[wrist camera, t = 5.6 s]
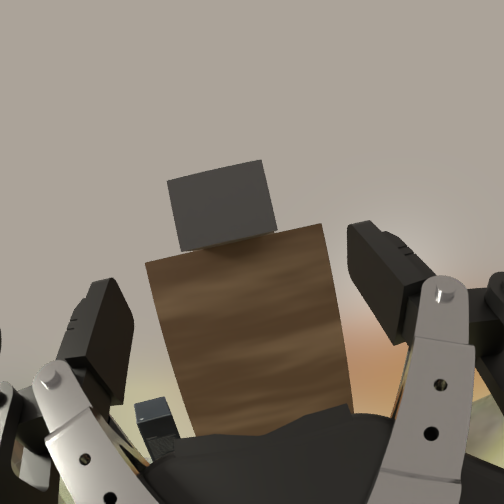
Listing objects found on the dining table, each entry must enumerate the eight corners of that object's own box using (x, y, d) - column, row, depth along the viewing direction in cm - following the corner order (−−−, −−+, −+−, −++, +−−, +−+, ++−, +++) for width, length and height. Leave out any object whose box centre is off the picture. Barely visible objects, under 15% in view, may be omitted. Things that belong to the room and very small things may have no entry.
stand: (363, 533, 22) (304, 155, 21) (250, 559, 22) (131, 194, 21) (335, 471, 35) (281, 187, 34) (247, 491, 34) (169, 212, 33)
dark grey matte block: (277, 229, 13) (261, 159, 13) (181, 251, 13) (166, 180, 13) (254, 239, 32) (247, 209, 32) (214, 248, 32) (208, 218, 32)
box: (192, 466, 42) (171, 413, 42) (159, 476, 40) (135, 423, 39) (182, 444, 49) (164, 394, 49) (153, 452, 47) (132, 403, 47)
